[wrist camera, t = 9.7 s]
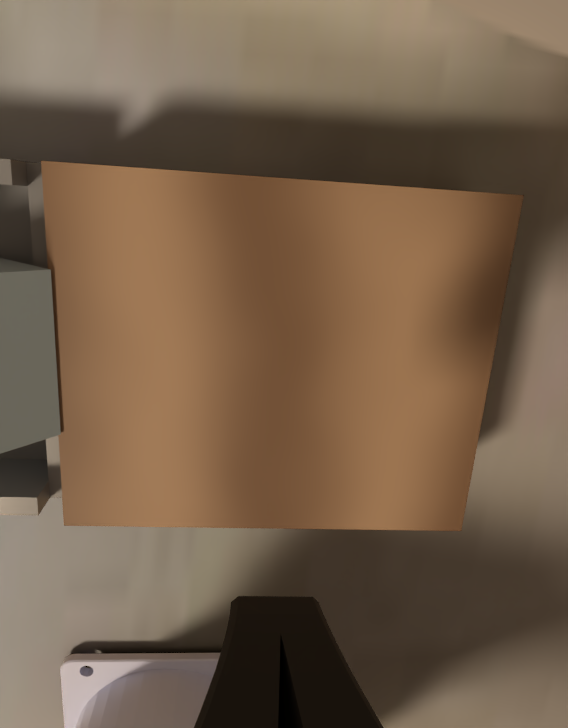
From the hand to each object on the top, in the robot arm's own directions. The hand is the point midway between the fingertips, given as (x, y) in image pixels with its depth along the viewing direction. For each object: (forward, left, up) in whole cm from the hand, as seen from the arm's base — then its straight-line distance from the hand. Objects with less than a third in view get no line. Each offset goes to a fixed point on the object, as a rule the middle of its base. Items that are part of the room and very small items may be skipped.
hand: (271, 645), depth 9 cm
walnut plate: (0, -3, -10) cm, 11 cm away
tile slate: (+7, -3, -8) cm, 11 cm away
